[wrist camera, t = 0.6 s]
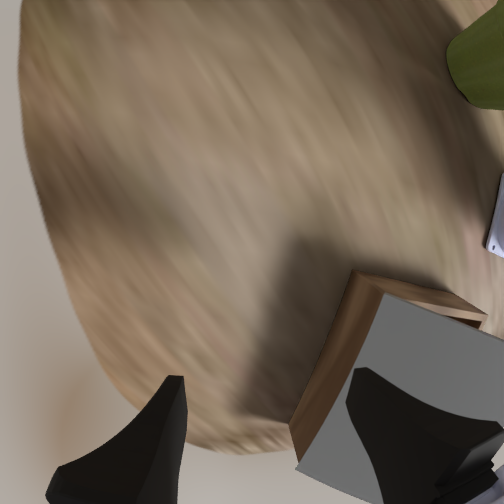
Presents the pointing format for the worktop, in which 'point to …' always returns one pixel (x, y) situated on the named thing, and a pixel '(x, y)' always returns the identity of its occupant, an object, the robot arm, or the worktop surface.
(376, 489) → the lid
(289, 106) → the worktop surface
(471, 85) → the plant pot
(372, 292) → the box base
